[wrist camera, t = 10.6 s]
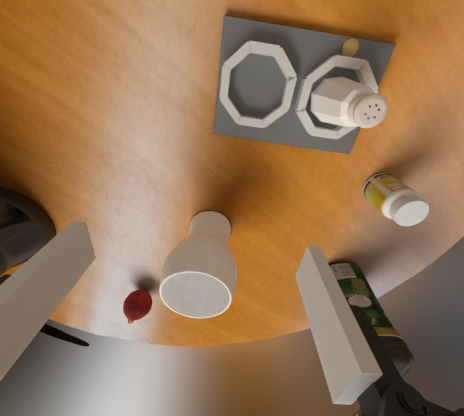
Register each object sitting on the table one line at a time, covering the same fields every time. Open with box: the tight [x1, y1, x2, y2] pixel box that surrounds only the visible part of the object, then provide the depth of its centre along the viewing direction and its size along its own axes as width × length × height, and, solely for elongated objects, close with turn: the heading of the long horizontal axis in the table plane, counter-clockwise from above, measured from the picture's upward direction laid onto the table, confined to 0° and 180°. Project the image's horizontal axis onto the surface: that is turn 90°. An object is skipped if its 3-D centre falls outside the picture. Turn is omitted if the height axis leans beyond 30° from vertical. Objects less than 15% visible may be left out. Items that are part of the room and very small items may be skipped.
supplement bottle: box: [363, 173, 429, 226], centre depth 32 cm, size 5×5×8 cm
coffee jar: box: [329, 262, 415, 380], centre depth 38 cm, size 10×8×19 cm
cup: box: [159, 211, 237, 318], centre depth 35 cm, size 11×11×15 cm
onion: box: [123, 290, 152, 324], centre depth 48 cm, size 6×6×8 cm
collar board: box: [214, 16, 396, 154], centre depth 28 cm, size 20×13×2 cm, turn 82°
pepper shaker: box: [310, 77, 388, 128], centre depth 24 cm, size 5×5×11 cm
